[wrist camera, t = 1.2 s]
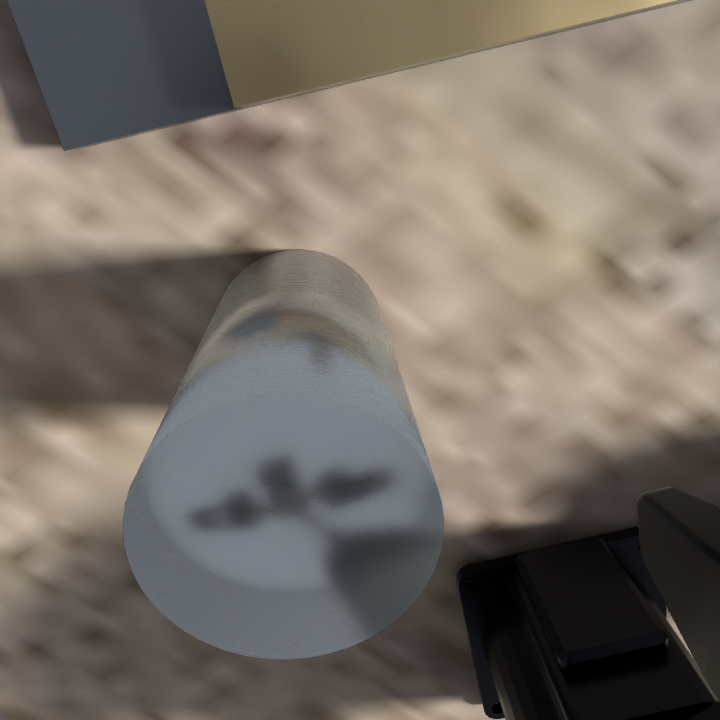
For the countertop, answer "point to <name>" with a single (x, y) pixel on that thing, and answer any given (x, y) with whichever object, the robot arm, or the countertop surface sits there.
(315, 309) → the pin
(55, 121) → the lower end link
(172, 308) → the countertop surface
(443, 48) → the upper end link
